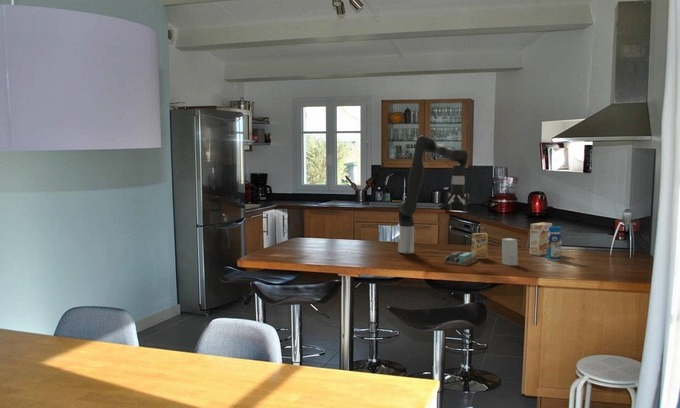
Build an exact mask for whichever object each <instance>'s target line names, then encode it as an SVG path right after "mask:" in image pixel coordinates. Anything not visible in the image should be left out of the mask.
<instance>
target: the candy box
mask: <svg viewBox="0 0 680 408" xmlns="http://www.w3.org/2000/svg"><path fill="white" fill-rule="evenodd" d="M488 237H489V235H488V233H486V232H478V233H477V232H476V233H473V232H472V233H471V253H472V256H474V255H477V260H481V259H482V260H483V259H484V260H485V259H488V242H489V241H488V240H489V239H488Z"/></svg>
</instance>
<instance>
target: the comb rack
mask: <svg viewBox="0 0 680 408" xmlns="http://www.w3.org/2000/svg"><path fill="white" fill-rule="evenodd" d="M443 260H444V261H443V264H447V265H449V264H450V265H454V266H455V265H456V266H466V267H467V266H469V265H471V264H474V263H477V261H478V259H477V255H474V256H471V257H469V258H467V259H464V263H462V262H459V257H456V258H454V262H453V261H449V255H447V256H445V257H444V259H443Z"/></svg>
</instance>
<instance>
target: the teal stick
mask: <svg viewBox="0 0 680 408" xmlns="http://www.w3.org/2000/svg"><path fill="white" fill-rule="evenodd" d="M471 256H472V252H468V251H467V252H463V253H462V254H461V255H459V262H462V263H464V259H467V258H469V257H471Z"/></svg>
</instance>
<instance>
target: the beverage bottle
mask: <svg viewBox="0 0 680 408" xmlns="http://www.w3.org/2000/svg"><path fill="white" fill-rule="evenodd" d="M561 229H562V227H561V226H558V225H557V226H555V225H552V226H550V227H549V232H550V233H549V235H548V237H547V239H548V240H547V254H546V260H548V261H553V262H554V261H556V262H557V261H561V260H562V244H563V242H562V239H563V238H562V235H561Z"/></svg>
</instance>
